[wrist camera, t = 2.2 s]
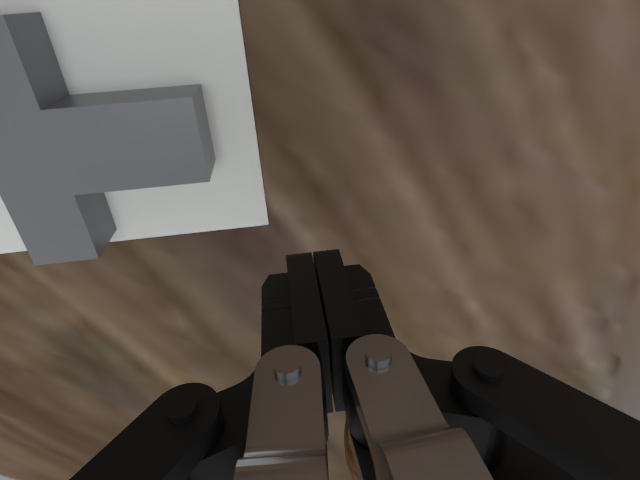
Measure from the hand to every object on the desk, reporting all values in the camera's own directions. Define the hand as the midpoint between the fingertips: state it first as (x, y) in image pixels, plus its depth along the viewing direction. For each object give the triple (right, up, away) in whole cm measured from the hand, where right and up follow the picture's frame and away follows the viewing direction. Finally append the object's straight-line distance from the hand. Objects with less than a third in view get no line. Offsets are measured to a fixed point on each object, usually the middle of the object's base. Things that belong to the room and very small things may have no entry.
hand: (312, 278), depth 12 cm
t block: (-13, +8, +15) cm, 22 cm away
